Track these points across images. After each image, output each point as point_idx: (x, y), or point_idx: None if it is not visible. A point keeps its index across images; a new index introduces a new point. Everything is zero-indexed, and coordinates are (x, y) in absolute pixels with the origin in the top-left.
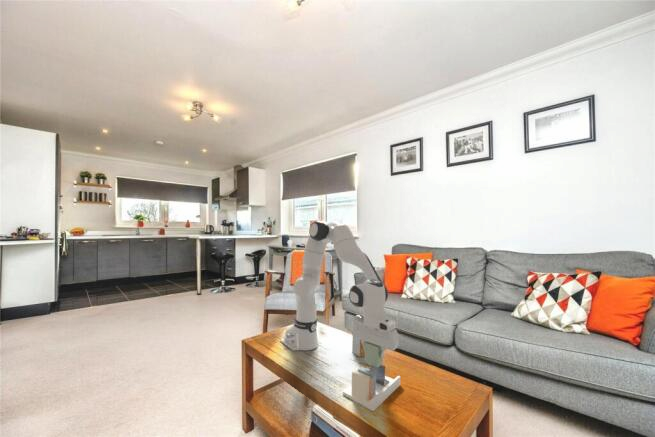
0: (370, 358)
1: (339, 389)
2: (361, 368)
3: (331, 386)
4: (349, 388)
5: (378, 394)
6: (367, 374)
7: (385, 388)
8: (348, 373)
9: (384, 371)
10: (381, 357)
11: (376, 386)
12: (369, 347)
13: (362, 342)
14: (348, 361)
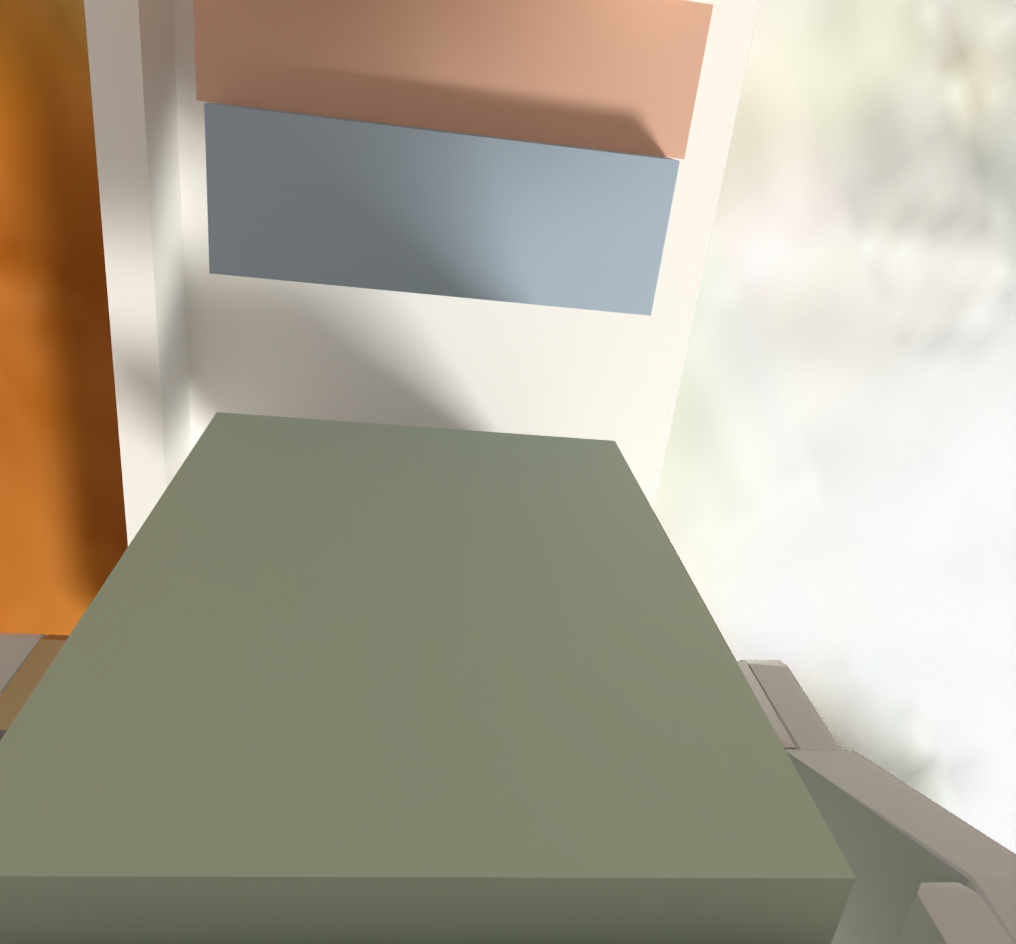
0: (443, 499)
1: (856, 20)
2: (612, 250)
3: (1002, 11)
4: (709, 71)
5: (120, 50)
6: (380, 125)
7: (132, 313)
8: (876, 481)
9: None
10: (56, 641)
11: (376, 398)
12: (524, 738)
13: (988, 886)
14: (969, 711)
